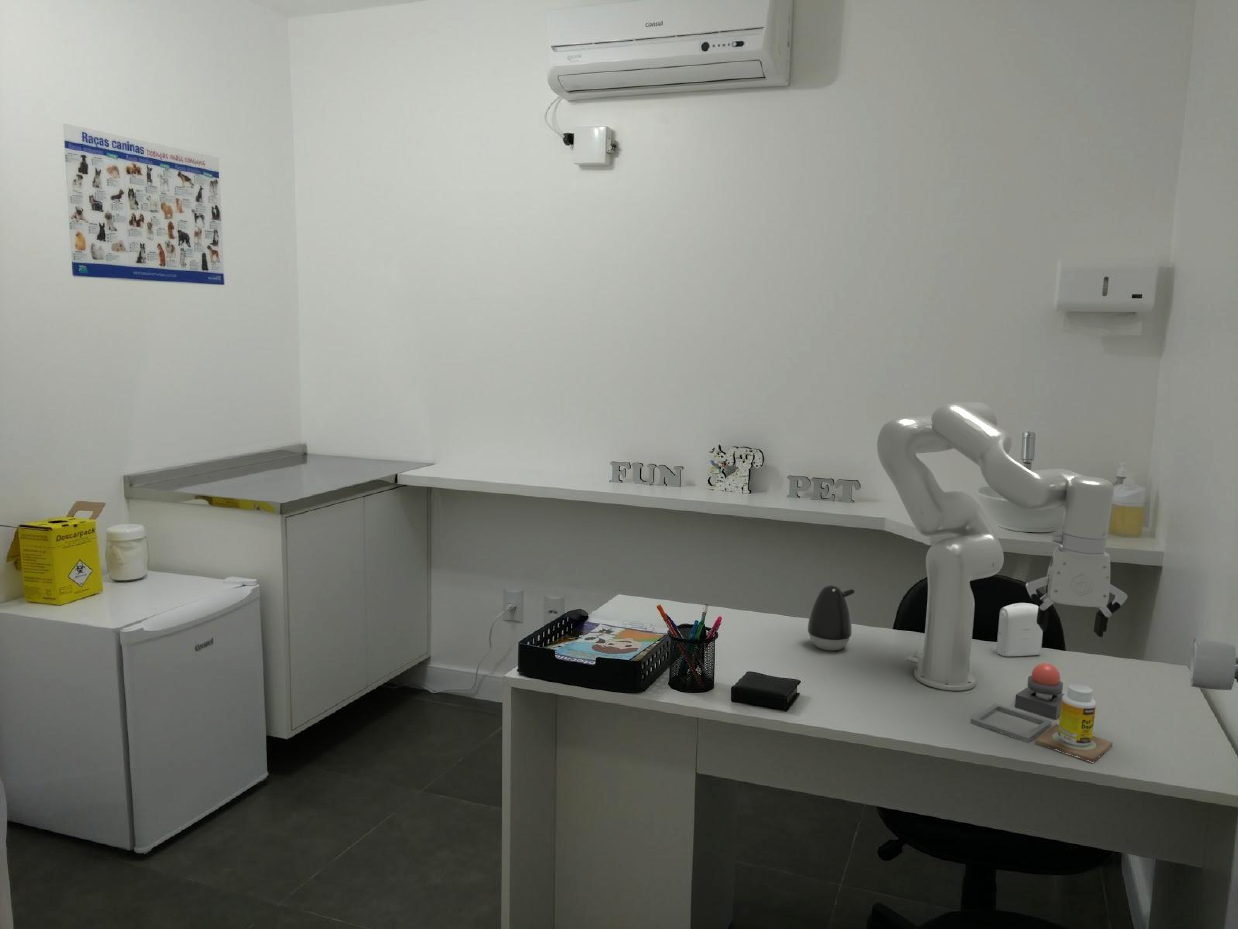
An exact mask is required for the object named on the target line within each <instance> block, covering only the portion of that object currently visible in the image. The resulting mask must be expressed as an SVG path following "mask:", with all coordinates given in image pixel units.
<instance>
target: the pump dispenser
mask: <svg viewBox="0 0 1238 929" xmlns="http://www.w3.org/2000/svg"><path fill="white" fill-rule="evenodd" d="M853 594H855V590H854V588H851V589H847V590H845V591H842V589H841V588H840V586H839V587H838V585H834V584H828V585H826V586H823V588H821V590H820V591H819V592H818V594H817V595H816V598H815V600H814V602H813V605H812V607H811V610H810V613H809V618H808V623H807V633H808V634H809V635H808V636H809V638H810V641H811V642H812V644H813V645H815V646H816V648H819V649H820V650H823V651H838V650H839V651H840V650H841V649H843V648H844V647H846V645H847V644H848V642H849V640H850V638H851V637H852V630H853V629H852V618H851V612H850V608H849V604H848V601H847V598H848V597H849V596H851V595H853Z"/></svg>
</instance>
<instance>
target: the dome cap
mask: <svg viewBox="0 0 1238 929" xmlns="http://www.w3.org/2000/svg"><path fill="white" fill-rule="evenodd" d="M1026 685H1027V687H1028V688H1029V689H1031V690H1033V691H1035V692H1036V697H1038V698H1041V699H1044V700H1048V701H1052V695H1058V694H1061V693H1062V694H1063V689H1064V688H1063V687H1064V683H1063V681H1062V680H1061V673H1060V671H1059V669H1058V668H1057V667H1056V666H1055V665H1053V664H1052V663H1051V664H1050V663H1048V662H1043V663H1042V662H1041V663H1039V664H1036V666H1035V667H1034V668H1033V669H1032V671H1031V675H1029V676H1028V677H1027V684H1026Z"/></svg>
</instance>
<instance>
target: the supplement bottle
mask: <svg viewBox="0 0 1238 929" xmlns="http://www.w3.org/2000/svg"><path fill="white" fill-rule="evenodd" d="M1063 694H1064V695H1063V697H1062V703H1061V713H1060V717H1059V721H1058V722H1059V723H1058V725H1059V730H1058V736H1059V738H1060V739H1061V740H1062V741H1064V742H1066V743H1068V744H1071V745H1076V746H1087V745H1089V744H1090V743H1091V741H1092V736H1093V732H1094V731H1093V730H1094V724H1095V716H1096V708H1097V702H1096V701H1095V699H1094V698H1093V689H1092V688H1091V687H1089V686H1088V685H1084V684H1079V683H1072V684H1069V685H1068V686H1067V692H1066V693H1063Z"/></svg>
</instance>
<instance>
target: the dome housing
mask: <svg viewBox="0 0 1238 929" xmlns="http://www.w3.org/2000/svg"><path fill="white" fill-rule="evenodd" d="M1064 694H1065V693H1063V692H1062V693H1061V694H1058V695H1052V701H1048V700H1044V699H1041V698H1038V697H1036V692H1035V691H1033V690H1031V689H1029V688H1028V686H1027V687H1026V688H1024V689H1023V690H1021V691H1019V692H1018V693H1016V694H1015V700H1014V707H1016V708H1019V709H1022V710H1025V711H1028V712H1031V713H1035V714H1039V715H1041V716H1045V717H1047V718H1049V719H1050V718H1051V719H1053V720H1057V719H1058V718H1060V717H1059V716H1060V713H1061V703H1062V697H1063V695H1064Z"/></svg>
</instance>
